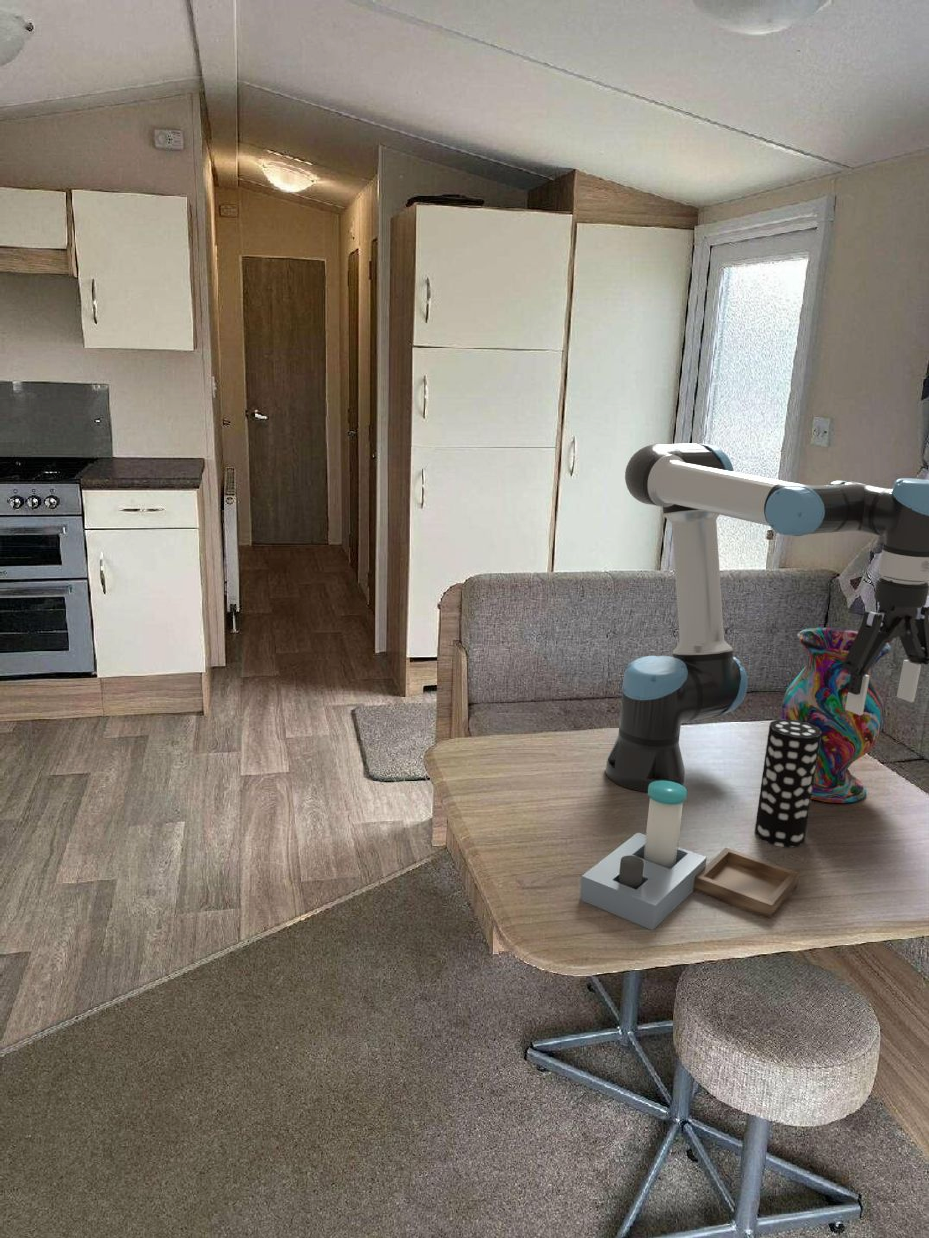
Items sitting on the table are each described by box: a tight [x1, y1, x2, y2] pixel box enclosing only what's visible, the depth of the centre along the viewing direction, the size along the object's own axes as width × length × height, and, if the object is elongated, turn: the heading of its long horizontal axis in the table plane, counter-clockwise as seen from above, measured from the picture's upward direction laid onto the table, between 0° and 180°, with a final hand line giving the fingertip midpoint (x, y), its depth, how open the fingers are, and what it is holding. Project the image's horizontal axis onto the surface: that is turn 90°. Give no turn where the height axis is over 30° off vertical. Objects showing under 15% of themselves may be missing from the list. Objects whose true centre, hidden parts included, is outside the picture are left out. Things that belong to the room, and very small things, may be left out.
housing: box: [579, 831, 708, 931], centre depth 144 cm, size 12×18×4 cm, turn 143°
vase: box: [780, 627, 891, 804], centre depth 181 cm, size 18×18×30 cm
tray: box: [693, 846, 800, 920], centre depth 146 cm, size 12×12×2 cm
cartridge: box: [643, 781, 688, 869], centre depth 147 cm, size 6×6×15 cm
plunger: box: [618, 855, 644, 890], centre depth 140 cm, size 3×3×4 cm
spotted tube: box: [754, 718, 822, 848], centre depth 161 cm, size 8×8×20 cm
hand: (880, 705), depth 153 cm, fingers open, 13 cm apart
